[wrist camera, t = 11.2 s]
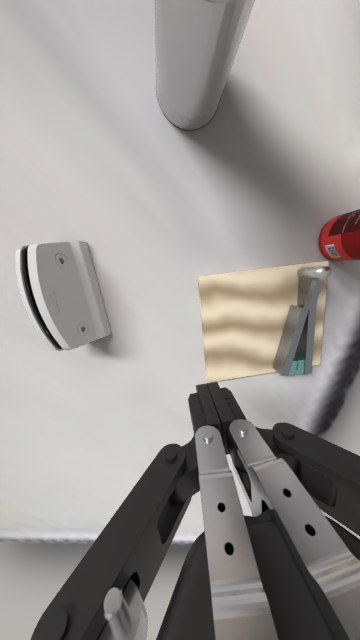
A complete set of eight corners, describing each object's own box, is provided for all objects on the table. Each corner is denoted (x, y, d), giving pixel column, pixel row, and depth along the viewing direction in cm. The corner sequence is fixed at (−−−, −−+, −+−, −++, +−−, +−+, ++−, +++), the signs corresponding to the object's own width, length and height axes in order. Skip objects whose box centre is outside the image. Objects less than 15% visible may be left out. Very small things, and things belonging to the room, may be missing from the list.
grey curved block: (112, 335, 35) (70, 362, 26) (91, 336, 37) (44, 363, 27) (86, 239, 31) (25, 230, 22) (63, 244, 32) (-4, 239, 23)
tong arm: (297, 279, 35) (315, 280, 31) (311, 281, 35) (330, 283, 31) (272, 367, 39) (285, 378, 35) (284, 368, 39) (298, 379, 35)
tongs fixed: (292, 268, 34) (313, 267, 30) (307, 266, 35) (331, 265, 30) (288, 367, 40) (306, 381, 35) (302, 365, 40) (321, 378, 35)
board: (197, 276, 34) (199, 276, 33) (323, 261, 36) (328, 260, 35) (206, 379, 40) (208, 382, 39) (315, 362, 41) (319, 364, 40)
